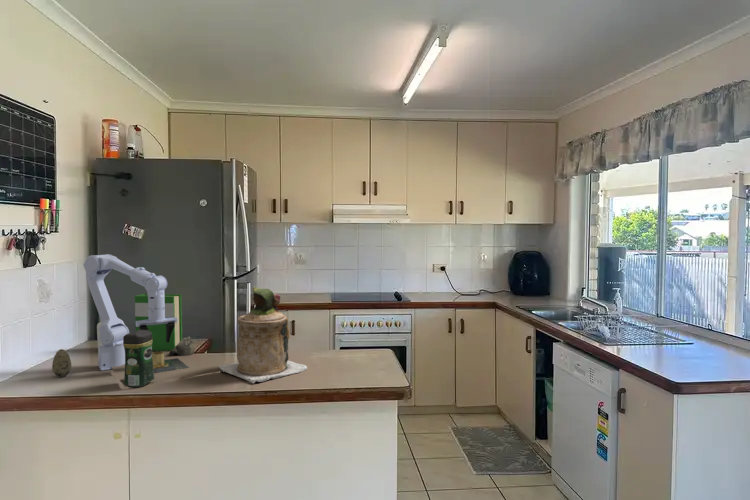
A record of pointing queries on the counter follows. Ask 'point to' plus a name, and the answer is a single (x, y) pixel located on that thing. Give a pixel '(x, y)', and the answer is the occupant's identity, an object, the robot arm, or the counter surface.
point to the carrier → (171, 366)
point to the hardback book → (159, 331)
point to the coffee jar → (138, 358)
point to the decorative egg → (61, 363)
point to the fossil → (184, 347)
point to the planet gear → (158, 360)
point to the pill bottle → (99, 334)
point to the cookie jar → (263, 342)
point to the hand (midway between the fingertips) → (157, 343)
